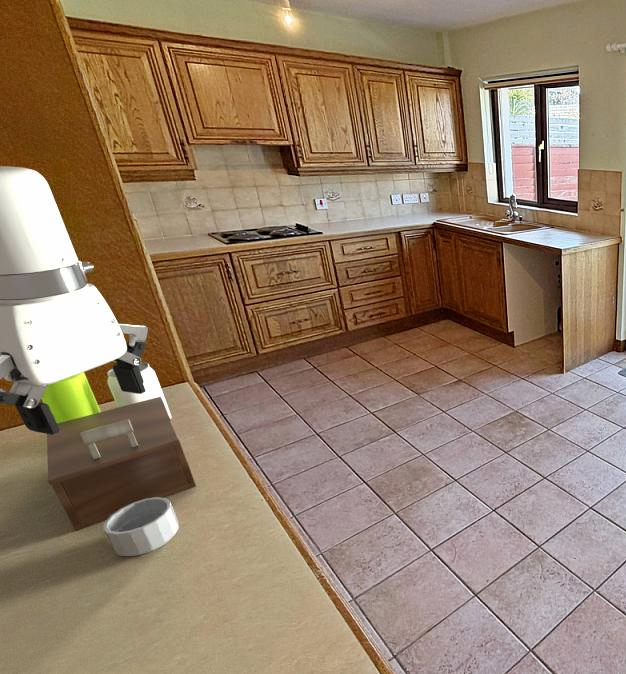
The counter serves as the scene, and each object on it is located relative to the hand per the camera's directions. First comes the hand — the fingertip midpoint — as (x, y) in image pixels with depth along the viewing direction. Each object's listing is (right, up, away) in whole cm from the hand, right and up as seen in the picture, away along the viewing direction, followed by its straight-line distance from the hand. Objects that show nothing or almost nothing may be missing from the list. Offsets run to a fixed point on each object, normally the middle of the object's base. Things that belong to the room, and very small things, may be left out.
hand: (93, 410), depth 60 cm
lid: (-11, -6, +13) cm, 18 cm away
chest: (-12, -14, +17) cm, 25 cm away
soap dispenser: (-29, -9, +26) cm, 40 cm away
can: (-22, -8, +31) cm, 39 cm away
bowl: (+1, -19, +6) cm, 20 cm away
